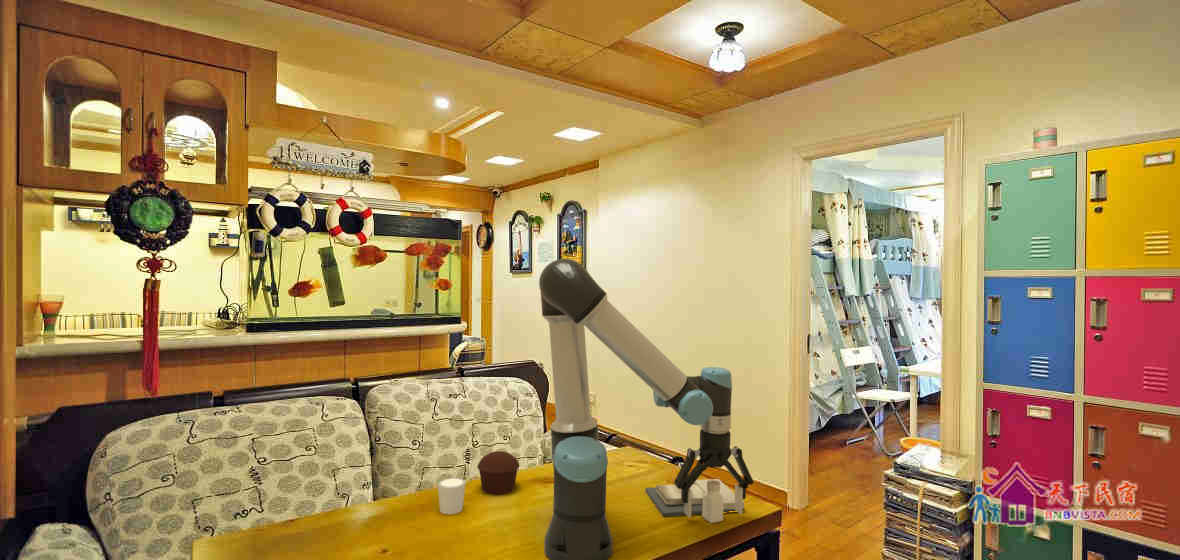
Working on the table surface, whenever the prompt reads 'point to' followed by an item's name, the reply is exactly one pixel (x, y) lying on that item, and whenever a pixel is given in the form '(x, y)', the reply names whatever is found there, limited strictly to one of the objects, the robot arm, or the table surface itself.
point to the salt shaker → (713, 502)
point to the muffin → (498, 472)
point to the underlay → (695, 508)
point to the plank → (678, 494)
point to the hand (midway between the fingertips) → (713, 513)
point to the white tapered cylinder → (451, 495)
